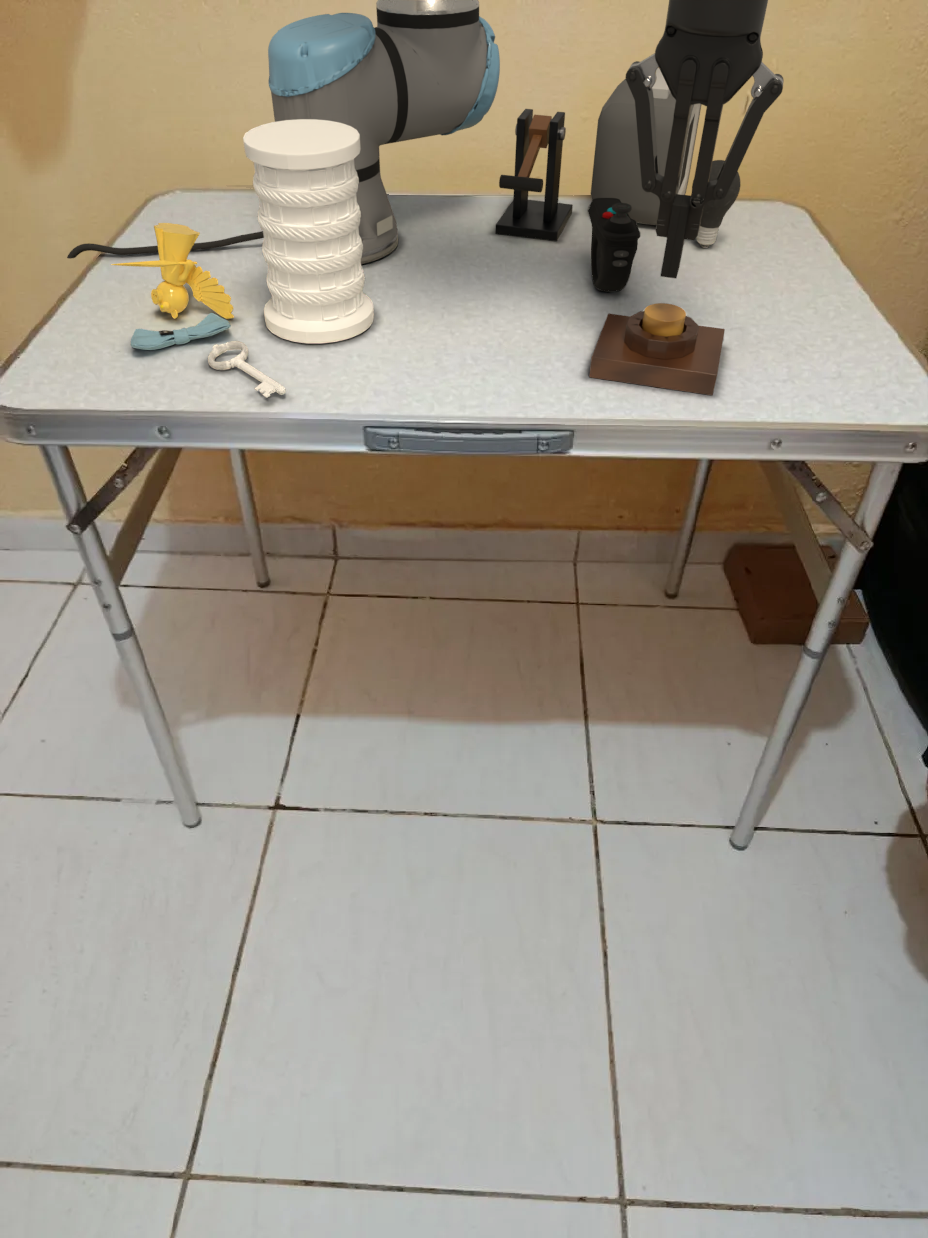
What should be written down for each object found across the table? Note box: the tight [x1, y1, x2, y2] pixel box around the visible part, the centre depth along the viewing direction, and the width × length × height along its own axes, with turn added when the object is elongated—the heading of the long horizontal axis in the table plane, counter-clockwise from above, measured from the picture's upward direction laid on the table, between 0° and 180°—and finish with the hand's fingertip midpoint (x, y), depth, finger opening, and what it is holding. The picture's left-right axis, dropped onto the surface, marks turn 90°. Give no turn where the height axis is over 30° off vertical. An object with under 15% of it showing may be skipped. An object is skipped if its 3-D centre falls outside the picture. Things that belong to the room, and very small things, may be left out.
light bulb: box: [691, 159, 741, 249], centre depth 111 cm, size 6×6×10 cm
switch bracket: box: [494, 108, 573, 242], centre depth 115 cm, size 10×8×13 cm
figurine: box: [110, 222, 235, 320], centre depth 95 cm, size 12×12×9 cm
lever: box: [498, 114, 553, 193], centre depth 110 cm, size 12×5×2 cm, turn 164°
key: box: [207, 340, 287, 399], centre depth 89 cm, size 12×1×4 cm
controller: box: [587, 198, 641, 293], centre depth 103 cm, size 4×12×10 cm, turn 3°
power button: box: [642, 302, 687, 336], centre depth 89 cm, size 4×4×2 cm
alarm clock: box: [590, 68, 703, 226], centre depth 119 cm, size 16×11×16 cm
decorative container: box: [242, 119, 375, 344], centre depth 92 cm, size 12×12×18 cm
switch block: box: [588, 310, 726, 396], centre depth 91 cm, size 12×10×4 cm
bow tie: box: [130, 312, 232, 351], centre depth 94 cm, size 10×2×5 cm
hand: (670, 271), depth 86 cm, fingers closed
